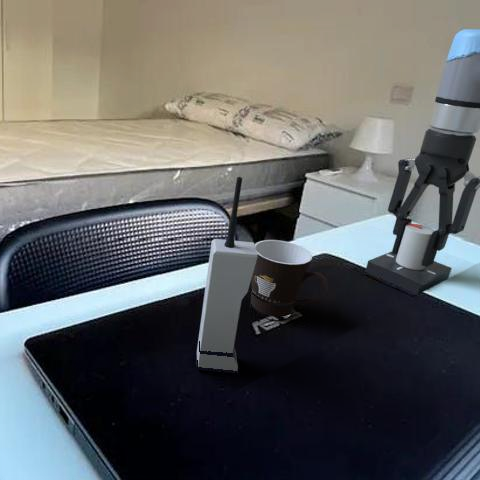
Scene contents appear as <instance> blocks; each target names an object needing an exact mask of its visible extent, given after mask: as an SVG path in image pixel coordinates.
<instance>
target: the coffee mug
mask: <svg viewBox="0 0 480 480" xmlns="http://www.w3.org/2000/svg"><path fill="white" fill-rule="evenodd" d="M254 245H255V248H256V251H257V254H258V257H257V260H256V264H255V268H254V271H253V275H252V278H251V289H252V291H251V290H250V305H251V304H252V306H253V307H254V308H255V309H256V310H258V311H259V312H261V313H264V314H267V315H271V316H286V315H289V314H291V313H292V314H293V312H292V311H294V308H295V306H296V305H297V304H295V303H293V304H291V305H286V306H278V305H272V304H268V303H265V302H262V301H261V300H259V299H257V298H256V297H255V296H254V295H253V294H252V292H253V293H254V294H255V295H256V296H258V297H260V298H261V299H263V300H266V301H268V302H273V303H280V304H282V303H290V302H293V301H296V302H299V304H305V303H311V302H316V301H318V300H321V299H323V298H324V297H326V296H327V295H328V294H329V292H330V282H329V280H328V278H327V277H326V276H325V275H323V274H322V273H320V272H317V271H309V267H310V265H311V262H312V259H313V254H312V253H311V252H310V251H309V250H308V249H307V248H305V247H304V246H301V245H299V244H296V243H293V242H290V241H286V240H278V239H265V240H260V241H258V242H255V243H254ZM310 277H317V278H318V279H320V280H321V281H322V282H323V284H324V291H323V293H321V294H320V295H317V296H314V297H308V298H307V297H306V298H300V299H298V297H299V295H300V292H301V289H302V287H303V284H304V282H305V281H307V279H308V278H310ZM296 299H297V300H296ZM292 314H291V315H292Z"/></svg>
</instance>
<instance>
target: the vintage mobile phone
mask: <svg viewBox="0 0 480 480" xmlns="http://www.w3.org/2000/svg"><path fill="white" fill-rule="evenodd" d="M242 183H243V177H241V176H237V177H236V180H235V189H234V195H233V201H232V208H231V214H230V217H229V222H228V228H227V234H226V239H222V238H221V239H220V238H214V239H212V240H211V243H210V244H211V245H210V249H209V250H210V252H209V258H208V266H207V272H206V280H205V287H204V294H203V295H204V296H203V303H202V310H201V316H200V317H201V318H200V325H199V333H198V340H197V347H196V361H197V360H198V367H202V368H213V369H223V370H233V371H237V372H238V369H239V366H238V360H237V359H238V357H237V352H236V349H235V343H236V342H235V341H236V336H237V330H238V323H239V318H240V312H241V307H242V300H243V299H244V297H245V296H246V295H247V294H248V293H249V289H250V285H251V283H252V275H253V271H254V268H255V264H256V260H257V257H258V254H257V251H256V248H255V242H251V241H243V240H235V236H236V230H237V223H238V210H239V204H240V197H241V189H242V185H243V184H242ZM199 341H200V351H207V352H208V351H211V352H223V353H226V352H227V353H233V356H234V357H227V356H217V355H207V354H200V352H199Z"/></svg>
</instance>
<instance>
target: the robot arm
mask: <svg viewBox="0 0 480 480" xmlns="http://www.w3.org/2000/svg"><path fill="white" fill-rule="evenodd" d="M427 125H428V126H429V127H430V128H428V129H426V130H425V133H424V136H423V139H422V143H421V146H420V150H419V151H420V152H419V153H418V155H417V156H415V158H403V159H400V160H398V162H397V166H398V173H397V177H396V179H395V184H394V187H393V190H392V194H391V197H390V201H389V204H388V207H387V211H388V213H390V214H392V215H394V216H395V222H394V226H393V229H392V234H393V236H396V237H395V240H394V242H393V247H392V249H391V252H392V254H395V255H396V254H398V251H399V247H400V244H401V241H402V237H403V234H404V231H405V227H406V225H407V224H408V223H413V222H412V221H413V219H411V218H409V217H411V213H412V211H413V210H414V209H415V207H416V205H417V203H418V202H419V201H420V199H421V197H422V196H423V194H424V192H425V191H426V189H427V188H428V187H429V186H431V185H432V186H433V187H436V188H438V195H439V207H438V229H436V230H435V231H433V233H432V236H431V239H430V242H429V245H428V248H427V251H426V254H425V258H424V261H423V264H422V266H425V267H427V266H429V265H431V264H433V262H434V261H435V258H436V256H437V253H438V252H440V251H442V250H444V249H445V247H446V244H447V241H448V238H449V235H450V234H452V235H457V234H459V233H462V232H463V231H464V229H465V227H466V224H467V221H468V218H469V215H470V212H471V209H472V206H473V203H474V200H475V197H476V194H477V191H478V190H479V188H480V176H477V175H476V174H474V173H473V172H471V171H470V167H469V162H470V159H471V156H472V153H473V150H474V147H475V145H476V141H477V138H476V135H475V134H477V133H479V132H480V29H471V28H467V29H461V30H460V31H458V32H457V33H456V34H455V36H454V38H453V40H452V43H451V46H450V49H449V51H448V55H447V57H446V59H445V63H444V68H443V70H442V74H441V78H440V81H439V84H438V89H437V92H436V96H435V99H434V103H433V106H432V109H431V112H430V115H429V119H428V122H427ZM415 168H416V171H417V173H418V177H417V178H416V180H415V182H414V184H413V187H412V189H411V190H410V192H409V193H408V195H407V197H406V198H405V196H406V193H407V189H408V186H409V184H410V183H409V182H410V179H411V177H412V172H413V171H414V169H415ZM461 179H464V182H463V186H464V188H463V190H462V192H461V196H460V199H459V201H458V205H457V208H456V210H455V214H454V213H453V212H454V211H453V209H454V192H455V191H456V183H457V182H459V181H460V180H461ZM404 199H405V200H404ZM453 214H454V217H453Z"/></svg>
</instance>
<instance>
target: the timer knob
mask: <svg viewBox="0 0 480 480" xmlns="http://www.w3.org/2000/svg"><path fill="white" fill-rule="evenodd" d="M433 231H436V230H435V229H434V228H432V227H430V226H427V225H423V224H420V223H413V222H411V223H408V224H407V225H406V227H405V231H404V234H403V237H402V241H401V244H400V247H399V251H398V254H397V257H396V262H397V263H398V264H399V265H401V266H403V267H406V268H409V269H414V270H423V269H424V268H425V266H422V264H423V261H424V258H425V254H426V251H427V248H428V245H429V242H430V239H431V236H432V233H433Z"/></svg>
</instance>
